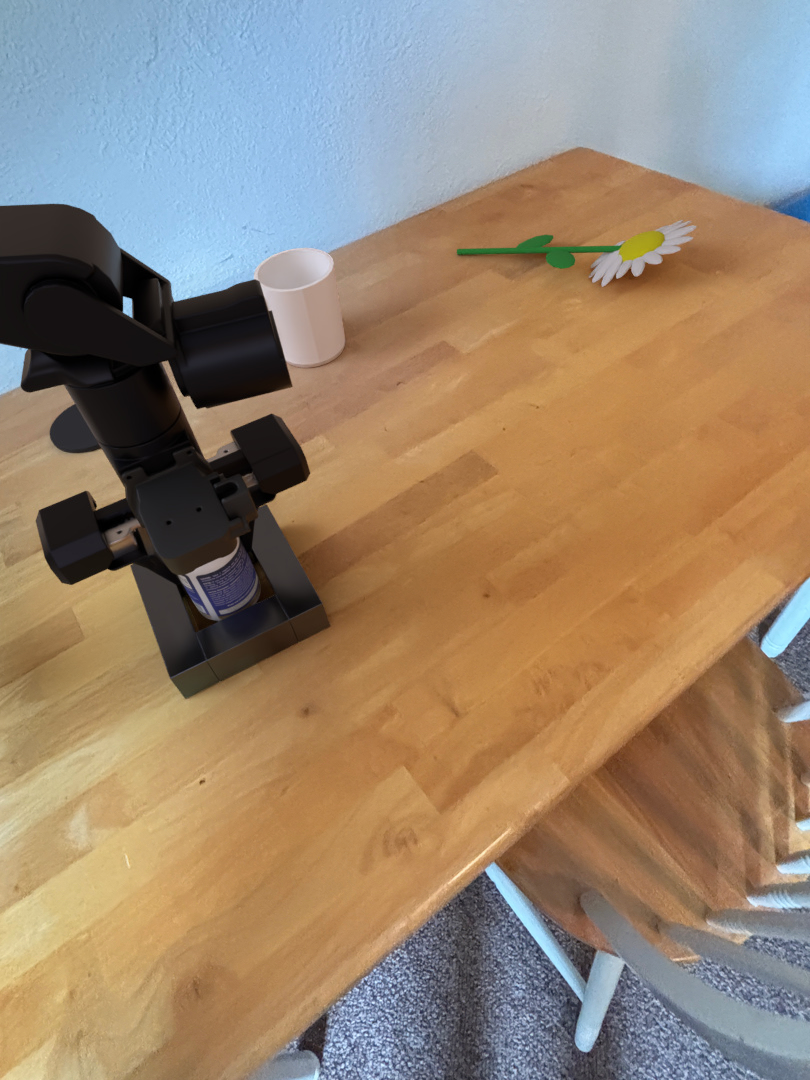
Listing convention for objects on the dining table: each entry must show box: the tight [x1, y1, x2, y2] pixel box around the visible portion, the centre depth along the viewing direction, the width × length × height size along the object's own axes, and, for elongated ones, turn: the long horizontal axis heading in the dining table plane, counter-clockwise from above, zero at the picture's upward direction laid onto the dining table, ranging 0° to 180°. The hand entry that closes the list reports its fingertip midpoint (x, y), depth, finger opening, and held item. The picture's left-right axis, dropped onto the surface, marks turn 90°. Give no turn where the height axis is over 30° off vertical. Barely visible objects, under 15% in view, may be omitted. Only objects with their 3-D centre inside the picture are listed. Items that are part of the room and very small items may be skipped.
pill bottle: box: [177, 536, 262, 622], centre depth 57 cm, size 6×6×10 cm
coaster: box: [49, 403, 101, 454], centre depth 80 cm, size 9×9×1 cm
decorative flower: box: [456, 219, 698, 288], centre depth 89 cm, size 13×5×30 cm
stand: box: [129, 503, 332, 700], centre depth 61 cm, size 13×13×4 cm
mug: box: [253, 247, 347, 369], centre depth 81 cm, size 11×9×10 cm
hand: (212, 564), depth 57 cm, fingers closed on pill bottle, 6 cm apart
